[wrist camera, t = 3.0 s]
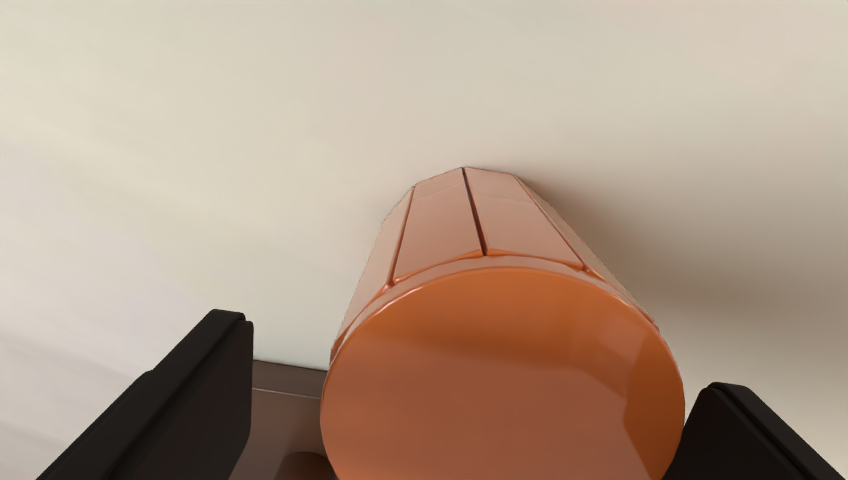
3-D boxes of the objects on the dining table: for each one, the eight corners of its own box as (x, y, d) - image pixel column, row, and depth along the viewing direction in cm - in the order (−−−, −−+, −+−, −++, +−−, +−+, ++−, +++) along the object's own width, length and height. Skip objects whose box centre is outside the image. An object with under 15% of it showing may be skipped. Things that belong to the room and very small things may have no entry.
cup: (391, 154, 15) (334, 236, 7) (584, 186, 15) (750, 303, 7) (369, 323, 17) (307, 532, 9) (536, 349, 17) (618, 578, 9)
